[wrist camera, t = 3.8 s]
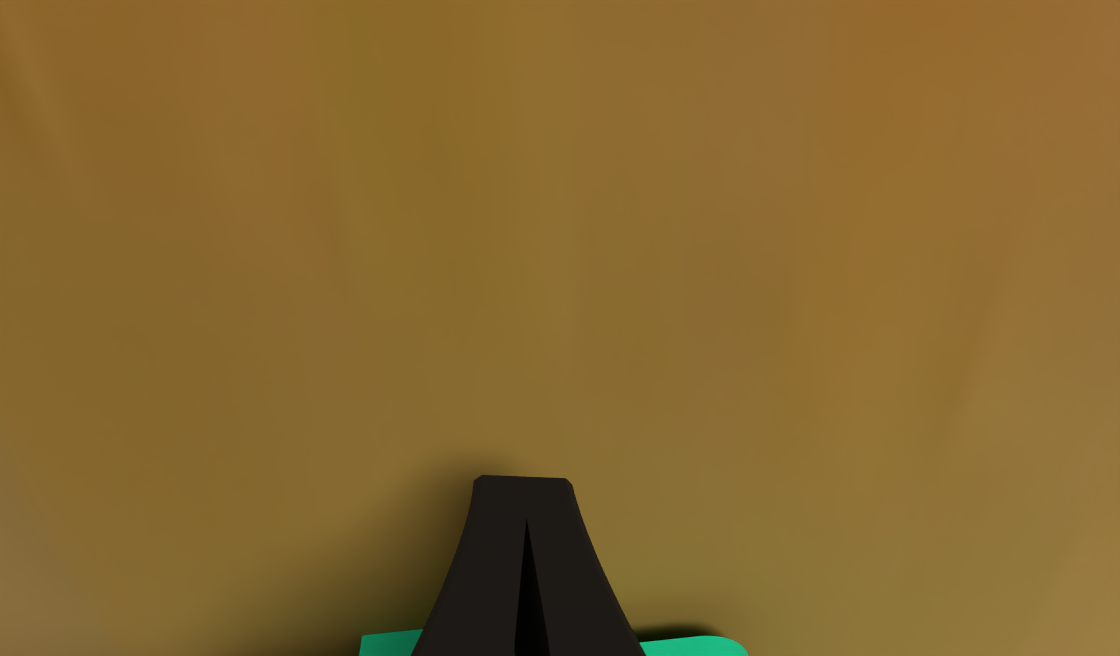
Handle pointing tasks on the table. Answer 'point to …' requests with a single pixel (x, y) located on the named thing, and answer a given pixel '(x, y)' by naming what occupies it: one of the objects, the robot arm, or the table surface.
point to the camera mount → (393, 649)
